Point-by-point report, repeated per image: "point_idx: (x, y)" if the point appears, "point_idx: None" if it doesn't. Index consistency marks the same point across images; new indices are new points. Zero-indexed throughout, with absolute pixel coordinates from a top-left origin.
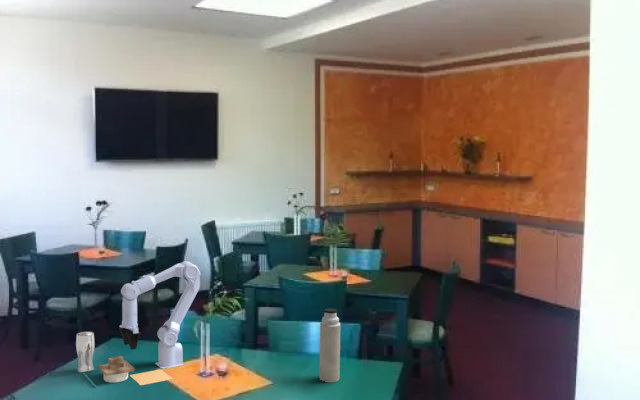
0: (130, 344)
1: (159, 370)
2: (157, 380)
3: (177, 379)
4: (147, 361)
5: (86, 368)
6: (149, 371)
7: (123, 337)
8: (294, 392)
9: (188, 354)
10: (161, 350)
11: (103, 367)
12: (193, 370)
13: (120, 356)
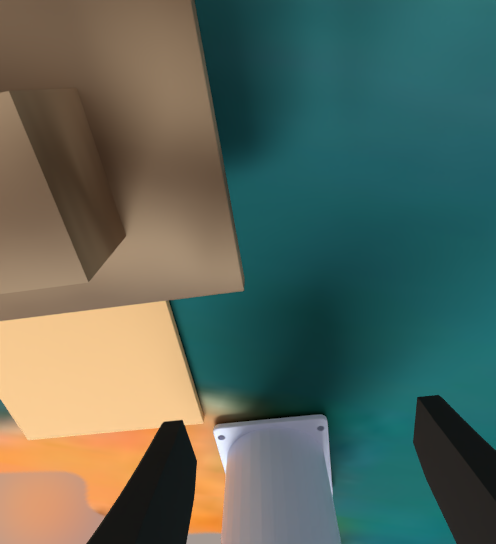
0: (122, 491)
1: (185, 414)
2: (9, 379)
3: (39, 448)
4: (404, 389)
5: None
6: (185, 371)
7: (488, 495)
8: None
9: (389, 536)
10: (245, 542)
11: (62, 14)
12: None
13: (67, 270)
